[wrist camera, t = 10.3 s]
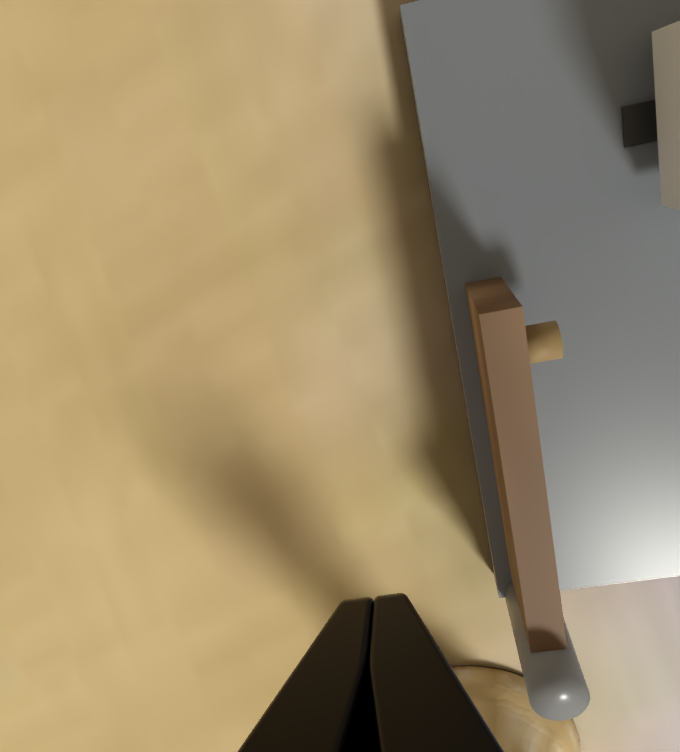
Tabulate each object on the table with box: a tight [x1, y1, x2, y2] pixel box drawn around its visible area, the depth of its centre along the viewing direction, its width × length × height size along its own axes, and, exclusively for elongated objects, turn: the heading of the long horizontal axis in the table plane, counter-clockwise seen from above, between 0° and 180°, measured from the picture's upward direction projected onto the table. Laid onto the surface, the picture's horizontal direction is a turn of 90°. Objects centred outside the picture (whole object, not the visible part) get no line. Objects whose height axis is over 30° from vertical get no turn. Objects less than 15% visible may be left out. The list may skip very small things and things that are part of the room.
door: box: [465, 277, 567, 653], centre depth 18 cm, size 2×10×3 cm, turn 13°
